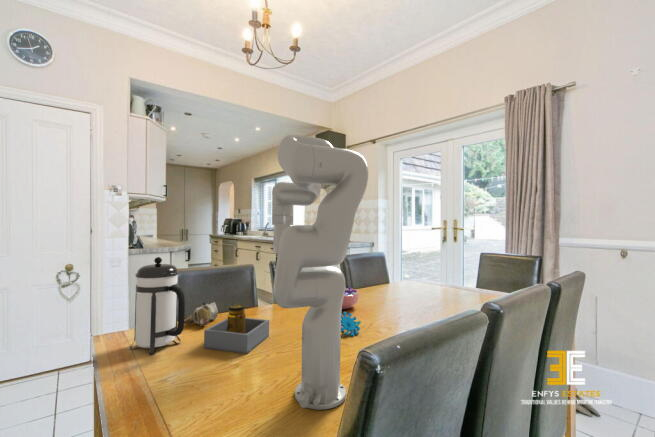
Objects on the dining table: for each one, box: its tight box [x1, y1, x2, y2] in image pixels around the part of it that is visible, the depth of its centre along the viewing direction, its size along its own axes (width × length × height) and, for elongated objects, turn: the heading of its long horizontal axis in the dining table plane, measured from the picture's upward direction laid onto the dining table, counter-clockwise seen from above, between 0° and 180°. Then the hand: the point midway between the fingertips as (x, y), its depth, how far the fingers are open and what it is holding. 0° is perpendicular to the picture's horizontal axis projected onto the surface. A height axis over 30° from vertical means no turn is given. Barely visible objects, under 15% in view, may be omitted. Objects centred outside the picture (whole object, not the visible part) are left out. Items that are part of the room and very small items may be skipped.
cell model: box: [342, 286, 360, 310], centre depth 153 cm, size 17×20×11 cm
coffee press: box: [129, 256, 186, 356], centre depth 102 cm, size 17×16×30 cm
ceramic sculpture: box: [184, 301, 219, 327], centre depth 127 cm, size 11×9×15 cm
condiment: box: [227, 304, 246, 334], centre depth 107 cm, size 7×8×12 cm
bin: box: [203, 317, 270, 355], centre depth 107 cm, size 16×16×6 cm
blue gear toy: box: [341, 311, 362, 337], centre depth 118 cm, size 11×6×10 cm
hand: (282, 269), depth 107 cm, fingers open, 9 cm apart
